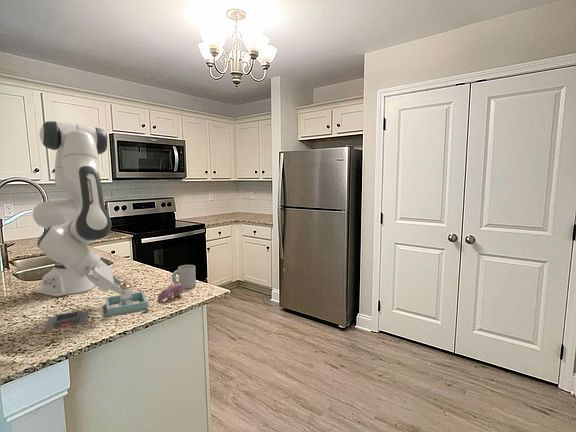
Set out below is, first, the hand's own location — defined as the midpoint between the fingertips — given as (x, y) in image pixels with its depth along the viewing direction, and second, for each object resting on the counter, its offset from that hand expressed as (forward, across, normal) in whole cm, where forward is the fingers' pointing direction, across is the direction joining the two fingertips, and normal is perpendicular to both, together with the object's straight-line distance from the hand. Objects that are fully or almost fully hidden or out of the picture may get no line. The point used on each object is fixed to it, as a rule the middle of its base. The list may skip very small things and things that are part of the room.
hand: (120, 287), depth 113 cm
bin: (+7, 0, +5) cm, 9 cm away
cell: (+7, 0, +4) cm, 8 cm away
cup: (+24, +16, -12) cm, 31 cm away
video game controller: (+19, +4, -7) cm, 21 cm away
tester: (-5, -3, +17) cm, 18 cm away
